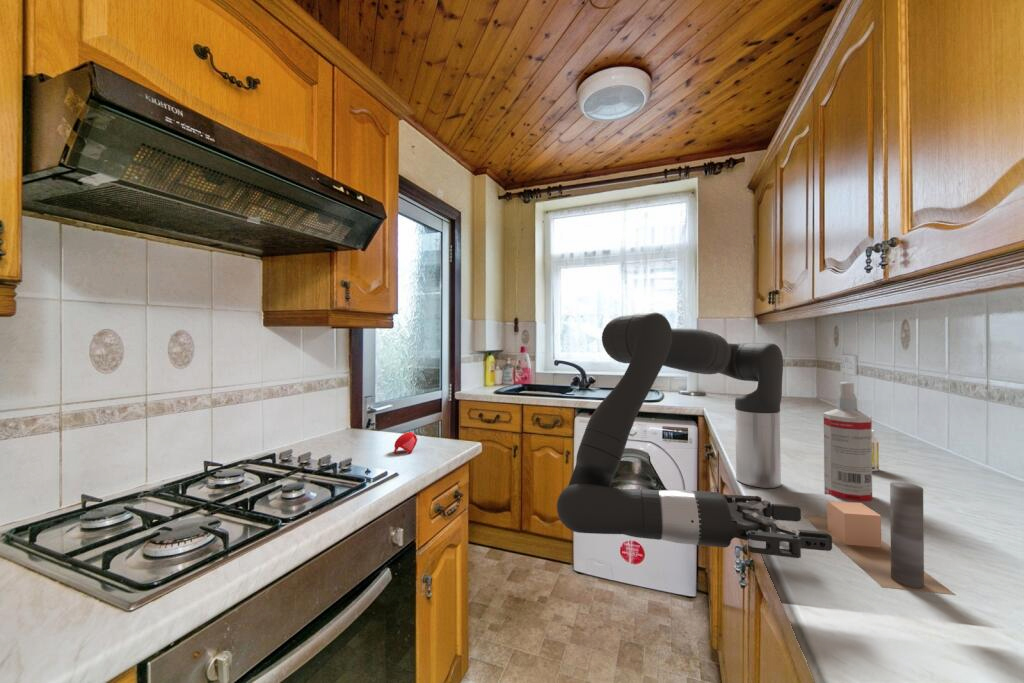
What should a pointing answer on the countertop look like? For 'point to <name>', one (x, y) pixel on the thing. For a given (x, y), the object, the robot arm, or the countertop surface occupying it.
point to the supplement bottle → (875, 453)
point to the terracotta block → (854, 523)
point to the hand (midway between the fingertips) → (814, 526)
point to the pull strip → (875, 560)
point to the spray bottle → (848, 449)
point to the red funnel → (406, 442)
